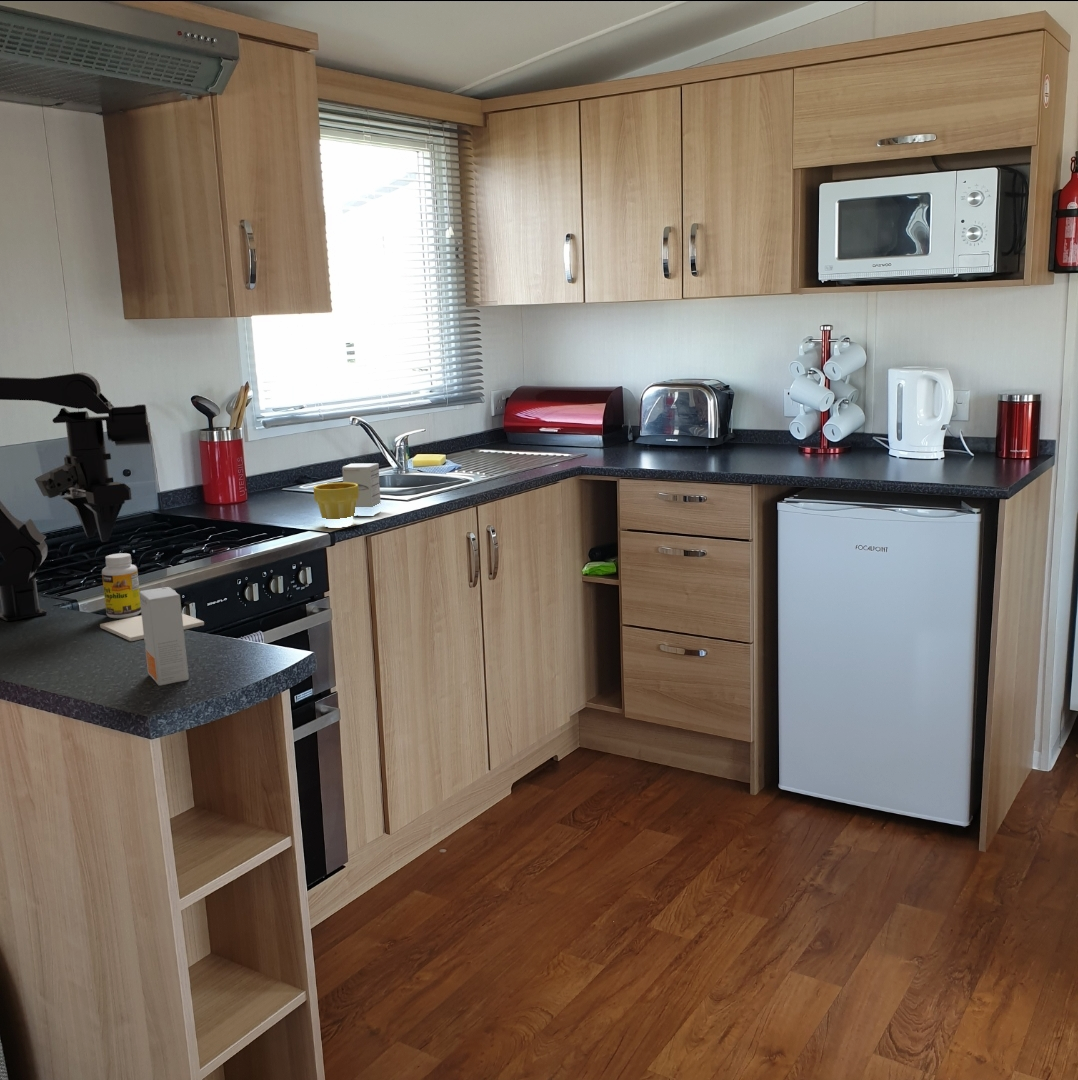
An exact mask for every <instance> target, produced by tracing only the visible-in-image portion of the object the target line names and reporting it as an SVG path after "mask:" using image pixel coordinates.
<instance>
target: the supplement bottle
mask: <svg viewBox="0 0 1078 1080" xmlns="http://www.w3.org/2000/svg"><path fill="white" fill-rule="evenodd" d="M104 558H105V567H104V568H102V570H101V577H102V579H101V580H102V586H103V594H104V603H105V612H106V613H105V614H106V616H107V617H108V618H111V619H127V618H131V617H136V616H139V614H141V605H140V596H139V591H141V590H140V582H139V574H138V573H139V571H138V567H137V565H135V564H132V556H131V554H130V553H127V552H124V553H123V552H122V553H112V554H109V555H106V556H105V557H104Z"/></svg>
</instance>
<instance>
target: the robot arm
mask: <svg viewBox="0 0 1078 1080" xmlns="http://www.w3.org/2000/svg"><path fill="white" fill-rule="evenodd" d="M1 400H2V401H3V400H4V401H36V402H38V401H39V402H43V403H48V404H52V405H56V406H60V407H61V406H62V408H60V409H59V412H58V414H57V415H56V416H55V417H54V418H52V422H53V424H63V423H64V424H65V427H66V436H67V443H68V452H69V453H68V454H65V457H63V458H64V459H63V460H64V464H63V465H61V466H58V467H55V468H53V469H52V470H50V471H47V472H45V473H43V474H41V475H39V476H37V477H35V479H34V481H35V483H36V485H37V486H38V488H39V491H40V492H41V494H42V496H43V497H48V498H49V499H52V498H56V497H58V496H60V497H62V496H65V495H66V496H65V497H62V500H63V501H64V502H66V503H68V504H70V506H72V507H73V508H74V509H75V512H76V515H77V516H78V518H79V519H78V520H79V521H80V524H81V526H82V528H83V531H84V534H85V535H86V537H87V538H93V537H94V536H95V535H96V534H95V533H96V529H97V531H98V535H99V538H100V541H101V542H102V543H105V542H108V541H110V537H111V535H112V533H113V529H114V526H115V524H116V522H117V519H118V517H119V514H120V511H121V509H122V507H123V505H124V504H125V503H126V501H131V500H132V489H131V487H130V486H129V485H127V483H124V482H118V481H115V482H114V477H113V476H109V470H108V469H109V468H108V467H109V466H108V461H109V460H112V457H111V456H112V455H111V452H107V451H106V450H107V448H106V442H105V433H104V424H103V422H105V425H106V436H107V439H108V440H107V441H109V442H110V441H111V442H114V444H115V446H116V447H129V446H143V445H145V446H146V445H151V444H152V431H151V423H150V422H149V418H148V417H149V416H148V411H147V405H146V404H135V405H131V406H129V405H128V406H114V405H113V404H112V403H111V401H110V400H108V398H107V397H106V396H105V395H104V394H103V393H102V392H101V387H100V383H99V381H98V379H97V378H95V377H94V376H93V375H92V374H90V373H87V372H74V373H67V374H61V375H60V374H59V375H52V376H46V377H16V376H15V377H9V376H0V401H1ZM65 407H67V408H70V409H71V408H72V409H78V410H82V409H87V410H89V412H90V411H91V412H92V413H94V414H97V415H101V416H89V413H88V411H87V410H84V411H69V410H67V409H66V408H65ZM103 414H108V415H106V416H105V415H104V416H102V415H103ZM45 539H47V536H46V535H45V534H43V533H41V532H40V531H39V529H38V528H37V526H36V524H35V523H34V521H33V520H32V519H31V518H29V519H28V520H27V521H25V522H22V521H21V520H19V519H17V517H15V516H14V515H12V513H11V511H9V510H8V508H7V507H6V506H5V504H3V502H2V501H1V500H0V556H1V557H2V559H3V562H2V563H1V564H0V605H1V611H0V619H2V620H4V621H6V622H12V621H17V620H22V619H26V618H27V619H28V618H33V617H37V616H38V617H39V616H42V615H43V616H44V615H47V614H48V611H47V610H46V609H43V608H42V607H40V604H39V603H40V602H39V595H38V586H37V579H36V576H34V575H35V574H36V572H37V569H38V568H39V567H40V566H41V565H42V564H43V562H44V561H45V559H46V558H47V556H48V551H49V550H48V545H47V543H46V541H45Z"/></svg>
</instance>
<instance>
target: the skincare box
mask: <svg viewBox="0 0 1078 1080" xmlns="http://www.w3.org/2000/svg"><path fill="white" fill-rule="evenodd" d="M139 596H140V605H141V612H140V614H141V615H142V623H143V632H144V647H145V658H146V665H147V674H148V675H149V677H151V678H152V679H153V681H154V682H155V683H156V684H157V686H164V685H165V686H166V685H169V684H174V683H180V682H185V681H189V679H190V677H189V676H190V675H189V667H188V658H187V651H186V640H185V638H186V637H185V631H184V630H185V629H184V628H183V619H182V613H183V612H182V604H181V603H182V602H181V594H179V593H177V592H176V590H175V589H173V588H171V587H170V586H167V587H166V586H165V587H158V588H151V589H144V590H140V591H139Z"/></svg>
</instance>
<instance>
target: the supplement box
mask: <svg viewBox="0 0 1078 1080" xmlns="http://www.w3.org/2000/svg"><path fill="white" fill-rule="evenodd" d="M379 467H380V464H379V463H375V462H373V463H363V462H362V463H349V464H347V465H343V466H342V469H341V471H342V482H346V483H356V484H358V489H359V498H358V499H357V500H356V506H355V507H373V506H375V505H377V504H379V503H380V504H381V487H380V468H379Z"/></svg>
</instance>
